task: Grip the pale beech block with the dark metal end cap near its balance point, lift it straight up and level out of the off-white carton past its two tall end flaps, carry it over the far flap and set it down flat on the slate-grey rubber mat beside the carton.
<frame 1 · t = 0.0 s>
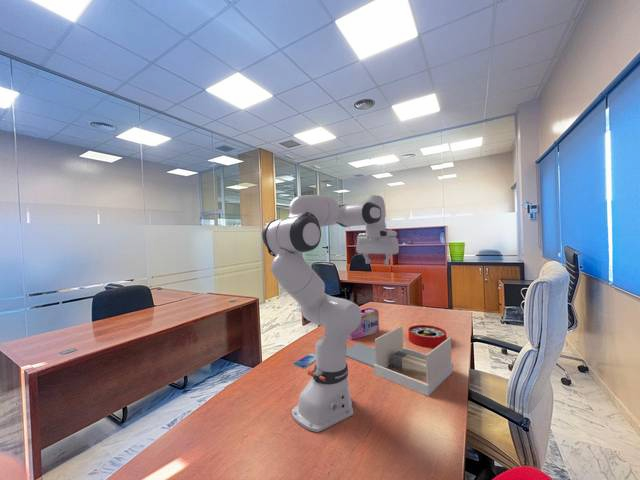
hand: (376, 264, 117), 48 cm above the table, tool pointing down, fingers open, 8 cm apart
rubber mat: (366, 355, 134), on the table
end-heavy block: (413, 365, 116), in the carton
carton: (413, 372, 116), on the table
toy clock: (427, 341, 150), on the table
smartphone: (307, 361, 131), on the table
gum box: (361, 334, 164), on the table
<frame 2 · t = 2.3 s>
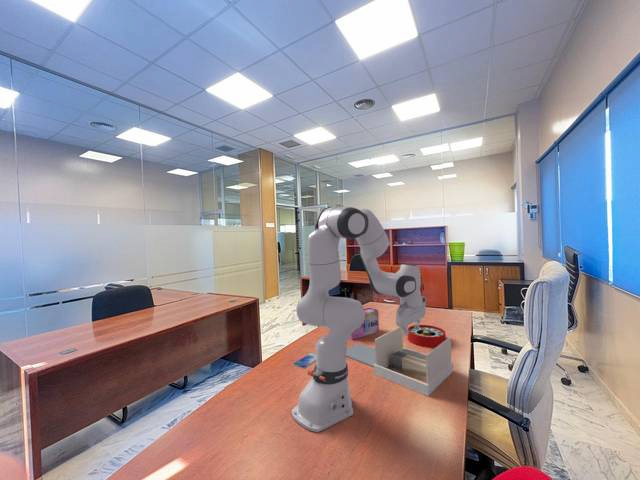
hand: (411, 331, 116), 18 cm above the table, tool pointing down, fingers open, 8 cm apart
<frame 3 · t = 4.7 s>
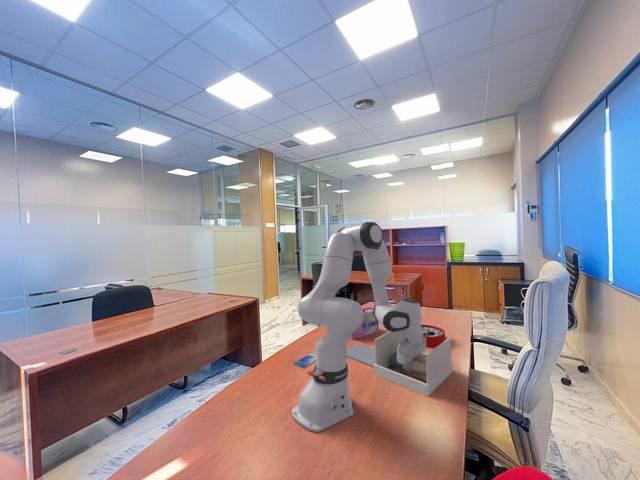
hand: (412, 367, 116), 2 cm above the table, tool pointing down, fingers closed on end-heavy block, 5 cm apart
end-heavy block: (413, 365, 116), in the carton, touching gripper
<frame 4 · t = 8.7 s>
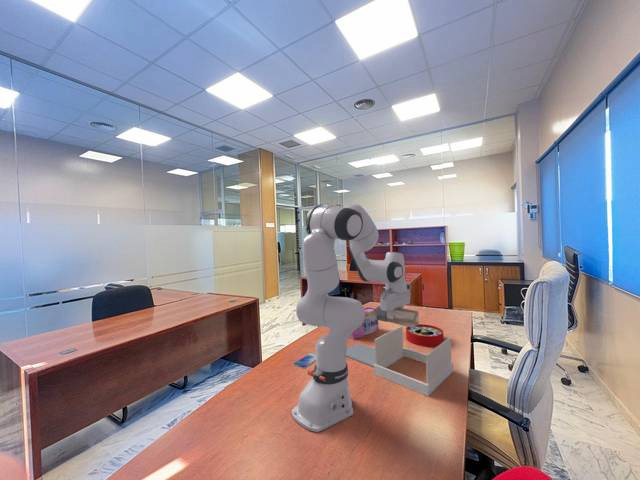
hand: (396, 317, 121), 23 cm above the table, tool pointing down, fingers closed on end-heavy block, 5 cm apart
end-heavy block: (397, 315, 121), point 24 cm above the table, touching gripper
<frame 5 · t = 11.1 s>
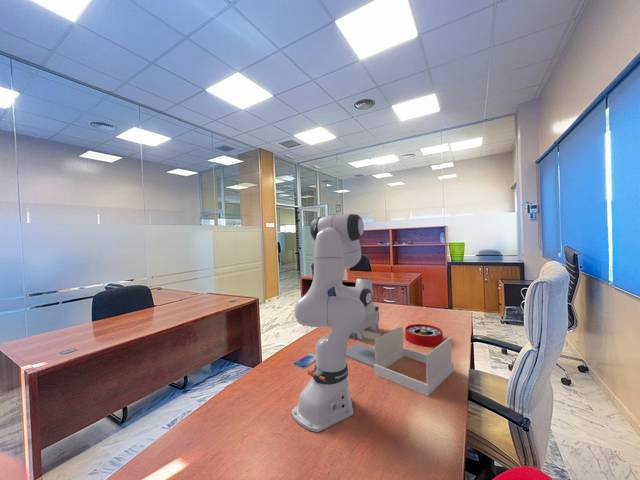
hand: (365, 336, 135), 9 cm above the table, tool pointing down, fingers closed on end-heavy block, 5 cm apart
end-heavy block: (366, 335, 134), point 10 cm above the table, touching gripper
when the fingers open (4 cm above the table, at t = 13.1 s): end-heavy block drops 2 cm, resting on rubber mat.
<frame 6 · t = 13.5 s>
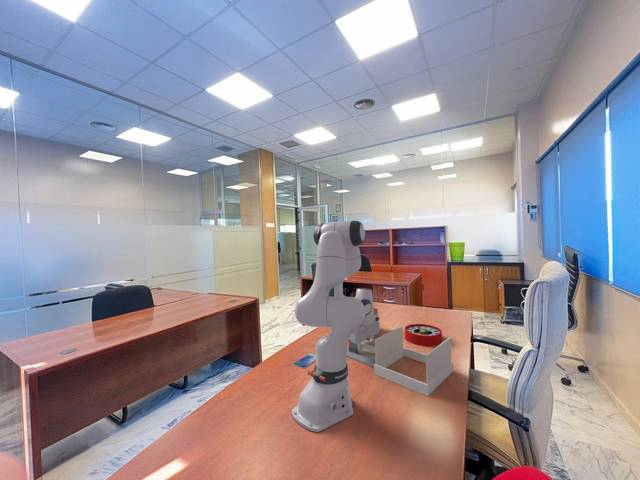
hand: (365, 346, 134), 4 cm above the table, tool pointing down, fingers open, 8 cm apart
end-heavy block: (366, 348, 134), on the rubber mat, point 4 cm above the table
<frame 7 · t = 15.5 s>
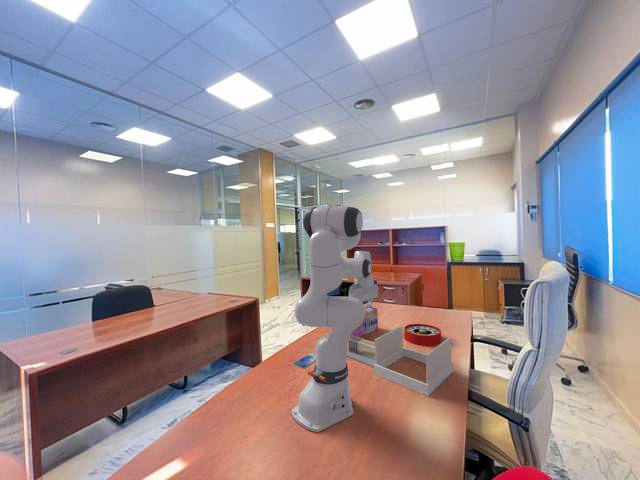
hand: (363, 309, 134), 23 cm above the table, tool pointing down, fingers open, 8 cm apart
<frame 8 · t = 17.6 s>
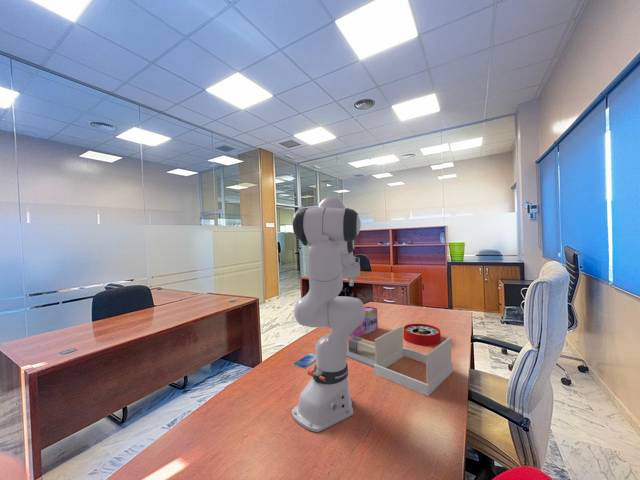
hand: (345, 287, 133), 35 cm above the table, tool pointing down, fingers open, 8 cm apart
at the end: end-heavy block inside the target area (0.5 cm from its centre), point 3.6 cm above the table; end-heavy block tilted 0°; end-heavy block touching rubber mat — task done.
